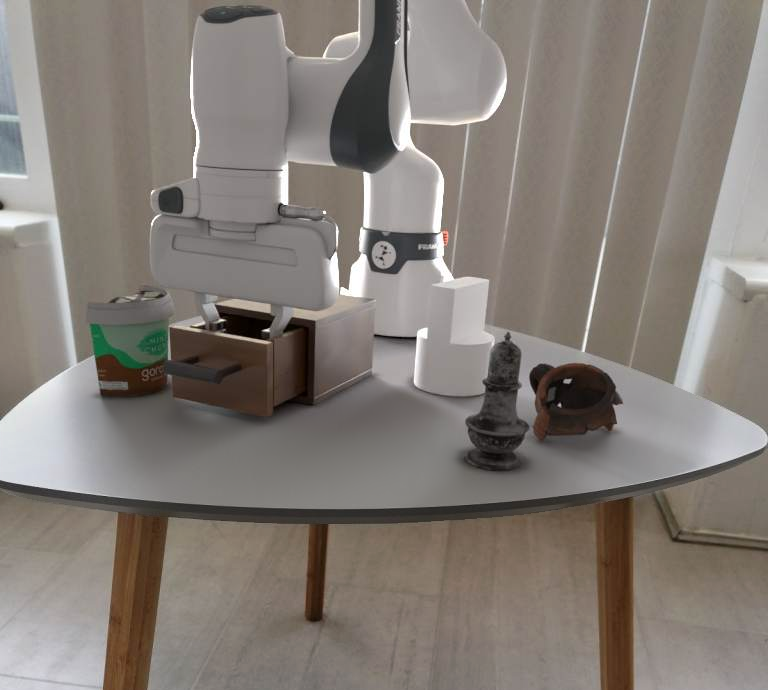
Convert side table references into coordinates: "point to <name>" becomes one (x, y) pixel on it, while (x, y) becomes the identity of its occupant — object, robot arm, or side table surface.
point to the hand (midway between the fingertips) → (244, 342)
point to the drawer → (238, 365)
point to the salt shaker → (498, 412)
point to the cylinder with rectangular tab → (454, 339)
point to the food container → (131, 341)
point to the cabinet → (325, 341)
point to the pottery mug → (572, 399)
